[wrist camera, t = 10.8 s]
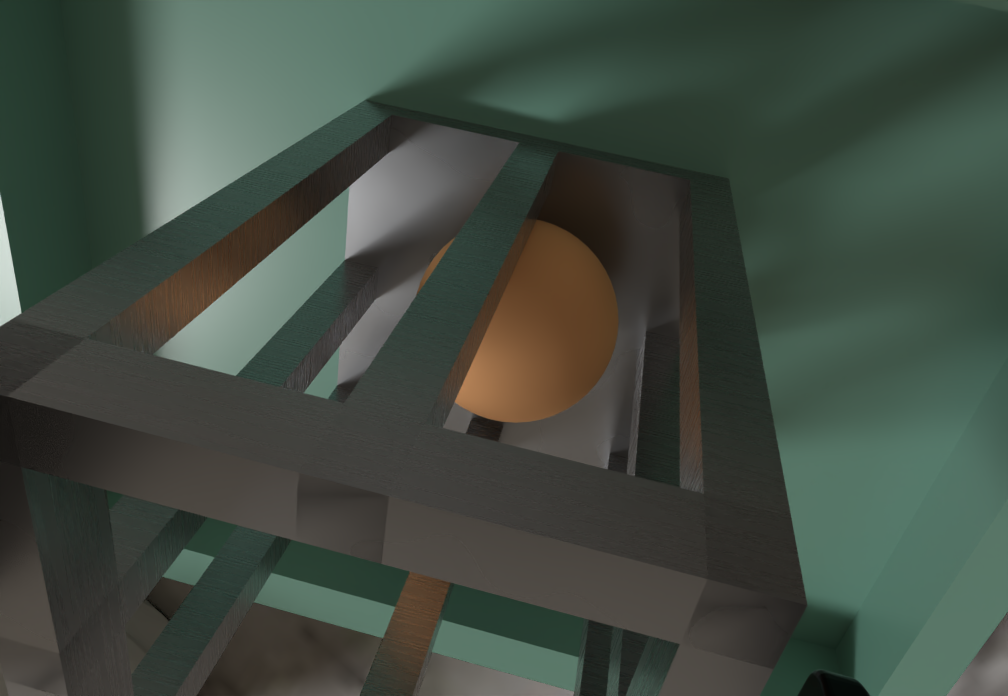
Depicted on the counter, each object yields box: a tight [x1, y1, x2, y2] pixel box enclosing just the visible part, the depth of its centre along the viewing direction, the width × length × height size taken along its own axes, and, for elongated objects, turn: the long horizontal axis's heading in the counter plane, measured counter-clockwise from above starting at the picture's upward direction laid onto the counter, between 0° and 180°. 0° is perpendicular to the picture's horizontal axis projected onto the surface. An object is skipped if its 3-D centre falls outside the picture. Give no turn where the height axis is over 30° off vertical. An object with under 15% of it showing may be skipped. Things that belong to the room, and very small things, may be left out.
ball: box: [416, 220, 619, 423], centre depth 12 cm, size 3×3×3 cm
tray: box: [0, 0, 1008, 696], centre depth 13 cm, size 18×14×2 cm
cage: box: [0, 100, 807, 696], centre depth 10 cm, size 6×6×8 cm
